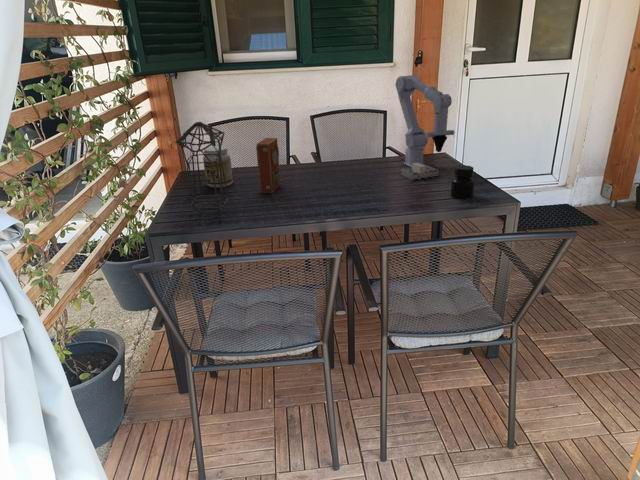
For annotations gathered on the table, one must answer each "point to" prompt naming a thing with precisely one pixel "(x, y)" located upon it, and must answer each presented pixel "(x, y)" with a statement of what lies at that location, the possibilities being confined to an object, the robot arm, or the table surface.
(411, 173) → the rack
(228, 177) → the supplement tub
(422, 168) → the beige rectangular block
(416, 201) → the table surface
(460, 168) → the ink bottle
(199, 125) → the geometric lantern
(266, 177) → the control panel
